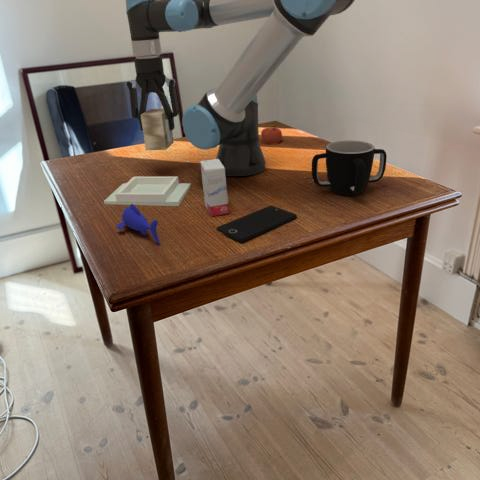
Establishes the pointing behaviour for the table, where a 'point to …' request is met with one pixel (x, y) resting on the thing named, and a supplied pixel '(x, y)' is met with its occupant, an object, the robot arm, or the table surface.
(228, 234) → the cell phone
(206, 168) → the ink box
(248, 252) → the table surface
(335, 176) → the mug
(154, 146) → the tan wooden block
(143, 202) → the chassis bay
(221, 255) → the table surface
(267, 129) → the apple
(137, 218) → the fish toy
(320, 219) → the table surface
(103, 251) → the table surface
